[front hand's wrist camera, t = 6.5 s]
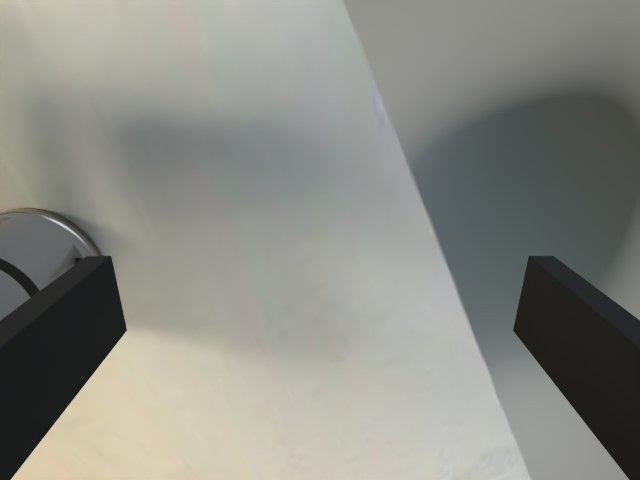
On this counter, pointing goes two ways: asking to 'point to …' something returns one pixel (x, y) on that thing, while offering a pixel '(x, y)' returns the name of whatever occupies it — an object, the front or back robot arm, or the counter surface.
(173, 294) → the counter surface
